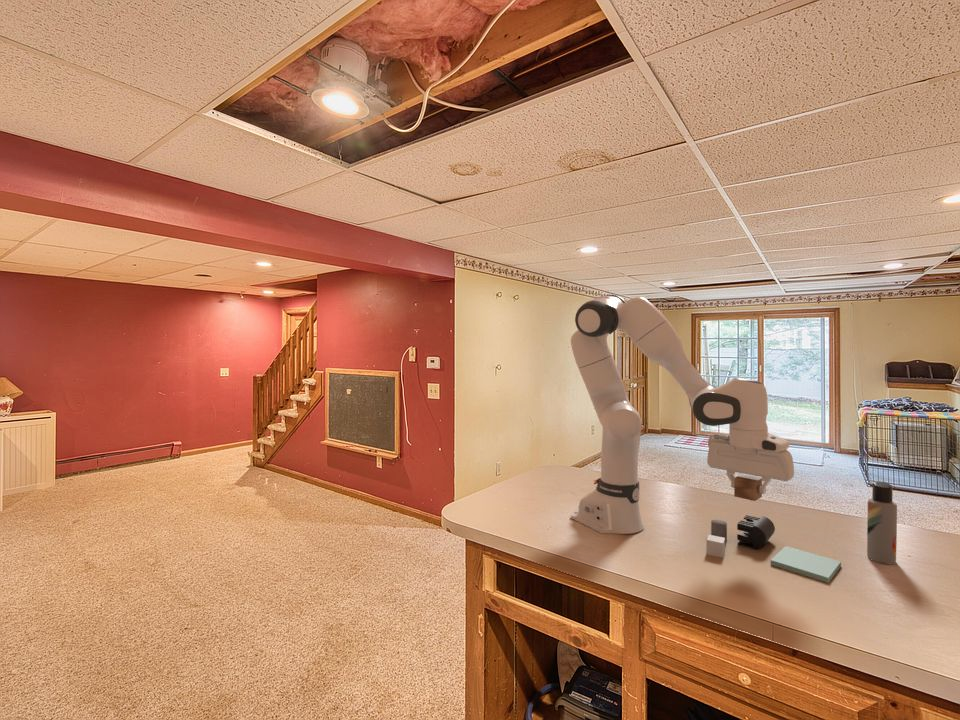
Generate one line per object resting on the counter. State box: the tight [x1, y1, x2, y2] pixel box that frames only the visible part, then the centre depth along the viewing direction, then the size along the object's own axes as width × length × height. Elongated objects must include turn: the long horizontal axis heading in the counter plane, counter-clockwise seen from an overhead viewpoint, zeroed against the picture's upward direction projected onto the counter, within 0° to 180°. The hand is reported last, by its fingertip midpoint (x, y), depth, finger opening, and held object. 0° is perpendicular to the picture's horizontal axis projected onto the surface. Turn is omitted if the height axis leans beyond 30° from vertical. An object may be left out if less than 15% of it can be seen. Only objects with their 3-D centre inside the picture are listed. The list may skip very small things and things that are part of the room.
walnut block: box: [733, 473, 763, 502], centre depth 122 cm, size 5×5×5 cm
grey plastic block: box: [705, 534, 726, 559], centre depth 123 cm, size 4×4×4 cm
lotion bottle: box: [866, 481, 898, 565], centre depth 118 cm, size 6×6×20 cm
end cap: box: [736, 514, 776, 550], centre depth 129 cm, size 10×7×7 cm
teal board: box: [770, 545, 842, 583], centre depth 116 cm, size 12×12×1 cm
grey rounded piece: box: [710, 519, 728, 543], centre depth 132 cm, size 4×4×5 cm
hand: (748, 490), depth 122 cm, fingers closed on walnut block, 5 cm apart
